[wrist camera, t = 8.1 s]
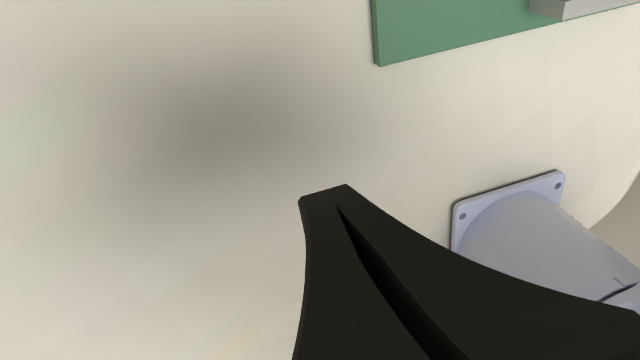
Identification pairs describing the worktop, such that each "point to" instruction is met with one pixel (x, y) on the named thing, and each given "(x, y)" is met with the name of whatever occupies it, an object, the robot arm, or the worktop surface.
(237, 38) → the worktop surface
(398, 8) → the header board
